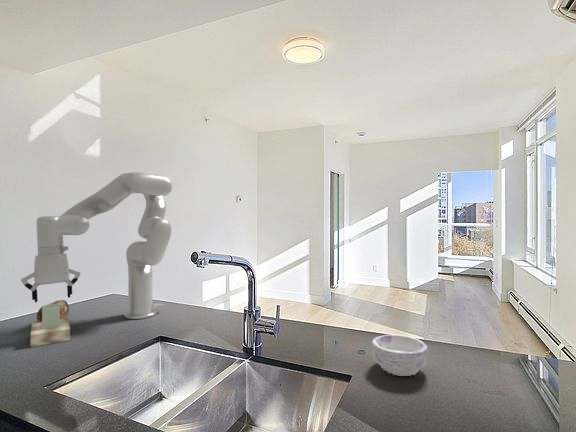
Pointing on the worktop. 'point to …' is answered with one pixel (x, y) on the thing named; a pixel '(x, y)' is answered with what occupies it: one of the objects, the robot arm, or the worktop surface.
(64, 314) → the tin
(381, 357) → the white round bowl
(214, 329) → the worktop surface
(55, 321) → the block
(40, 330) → the riser block
